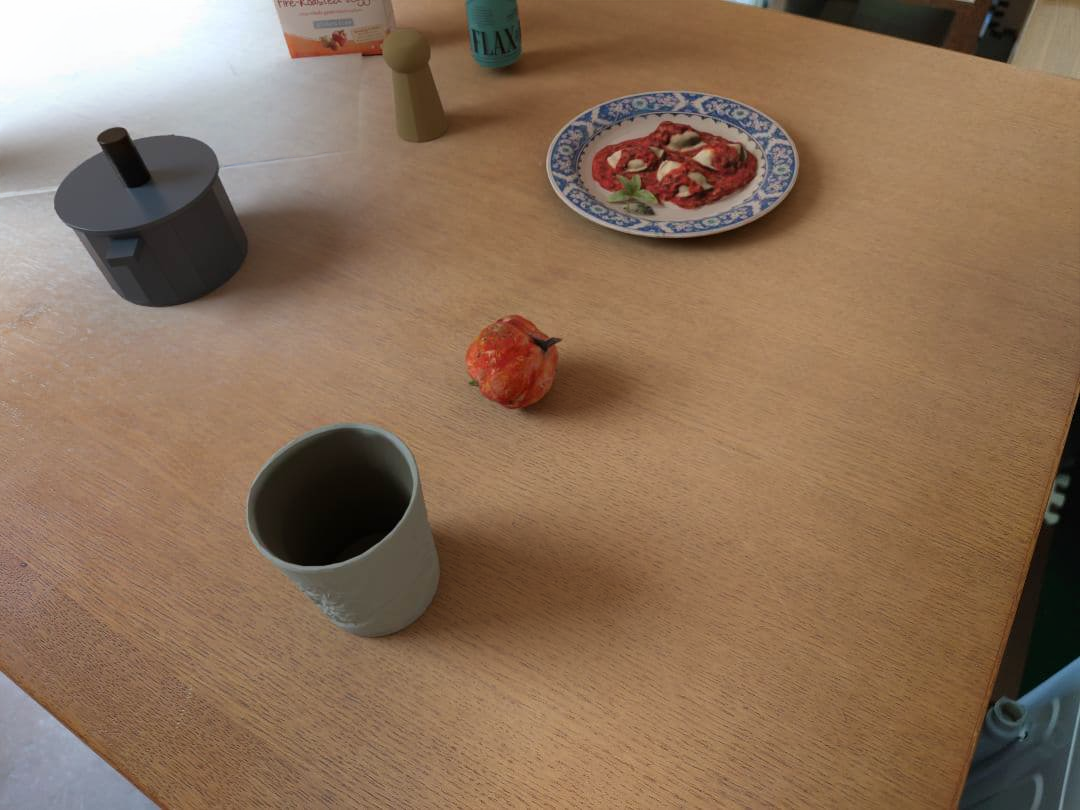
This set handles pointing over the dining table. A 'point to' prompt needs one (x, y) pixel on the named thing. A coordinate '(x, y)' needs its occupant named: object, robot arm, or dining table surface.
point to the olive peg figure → (414, 86)
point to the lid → (135, 183)
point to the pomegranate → (512, 362)
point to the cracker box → (335, 26)
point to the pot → (174, 254)
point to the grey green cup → (348, 526)
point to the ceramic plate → (672, 164)
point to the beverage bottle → (494, 32)
